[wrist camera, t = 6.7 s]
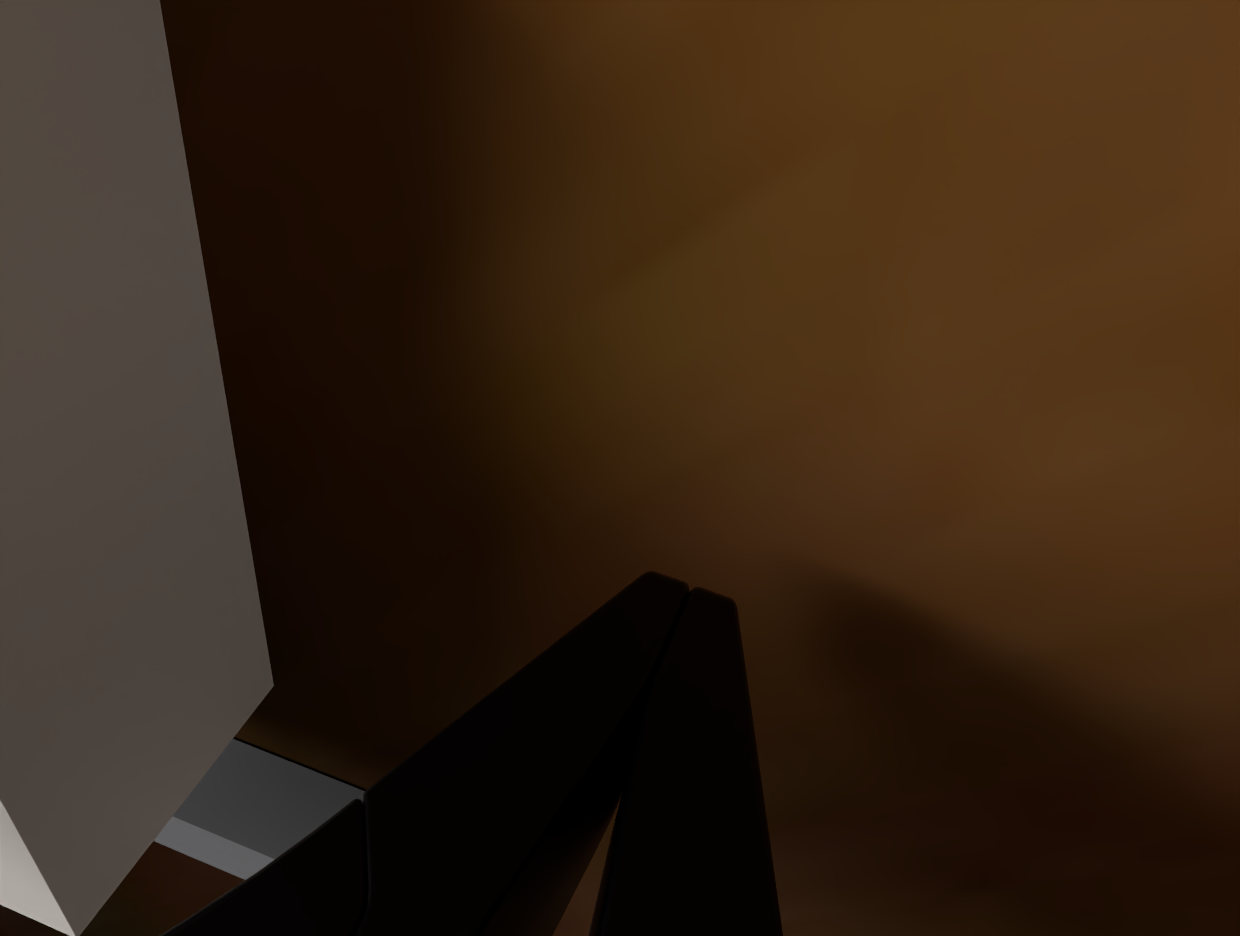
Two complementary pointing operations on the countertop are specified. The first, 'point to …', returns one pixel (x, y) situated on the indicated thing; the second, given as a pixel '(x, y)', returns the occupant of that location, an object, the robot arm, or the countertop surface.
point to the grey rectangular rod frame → (252, 810)
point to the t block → (108, 465)
